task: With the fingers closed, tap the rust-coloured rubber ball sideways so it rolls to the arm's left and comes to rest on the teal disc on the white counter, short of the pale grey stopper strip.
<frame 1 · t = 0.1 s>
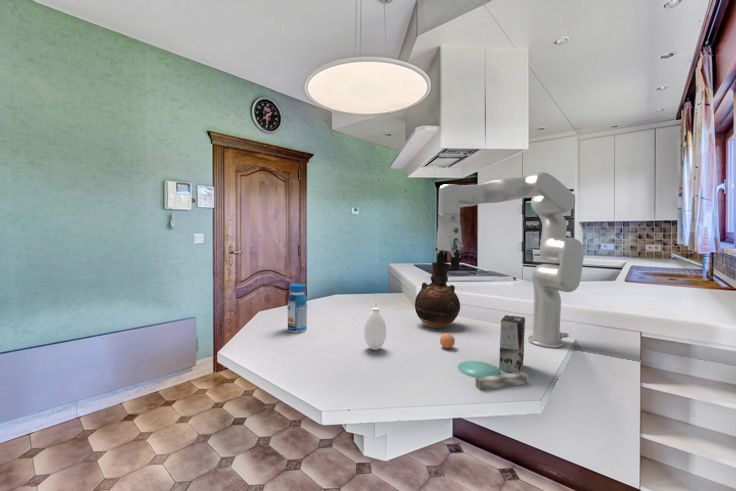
hand: (447, 267, 119), 31 cm above the counter, tool pointing down, fingers open, 9 cm apart
teal disc: (478, 369, 106), on the counter
stopper strip: (501, 384, 95), on the counter
ceramic vessel: (436, 326, 154), on the counter
ball: (447, 340, 125), on the counter
beverage bottle: (297, 330, 144), on the counter
sauce bottle: (374, 349, 122), on the counter
coffee box: (511, 367, 108), on the counter
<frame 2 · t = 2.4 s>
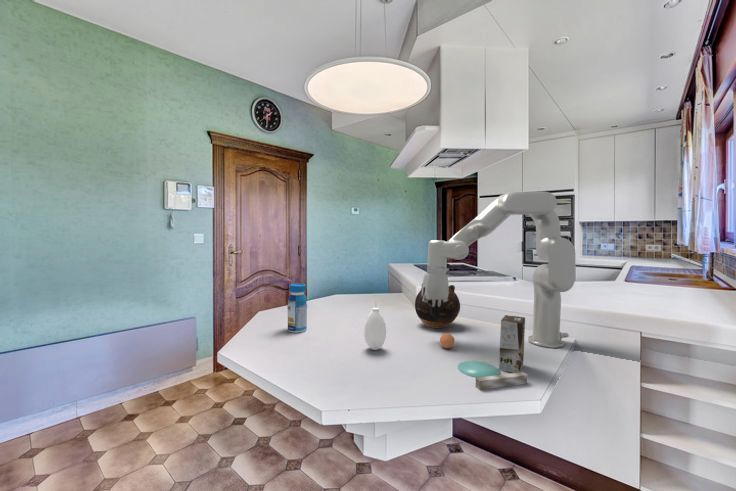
hand: (434, 315, 134), 10 cm above the counter, tool pointing down, fingers closed
nothing on the counter moved.
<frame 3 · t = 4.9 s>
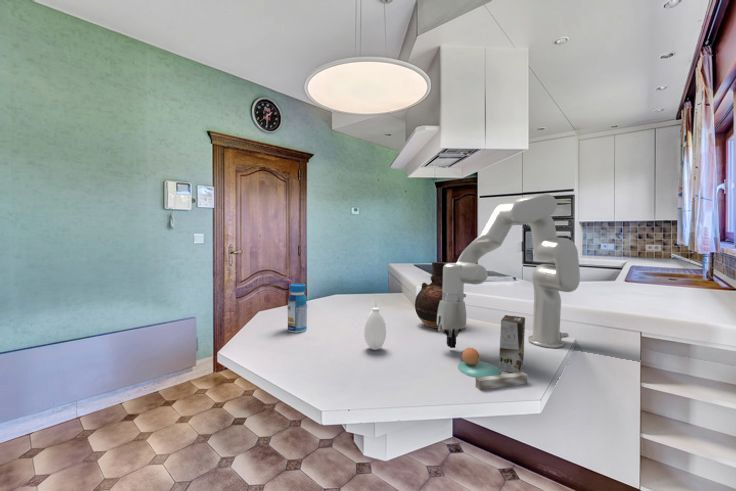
hand: (451, 346, 122), 2 cm above the counter, tool pointing down, fingers closed
ball: (470, 356, 109), on the counter
everything else where it was.
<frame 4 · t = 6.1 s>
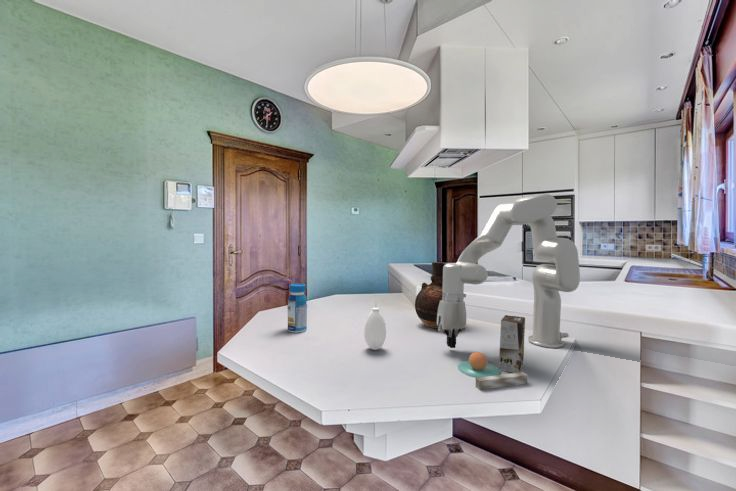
hand: (451, 346, 122), 2 cm above the counter, tool pointing down, fingers closed
ball: (477, 361, 106), on the counter
everything else where it was.
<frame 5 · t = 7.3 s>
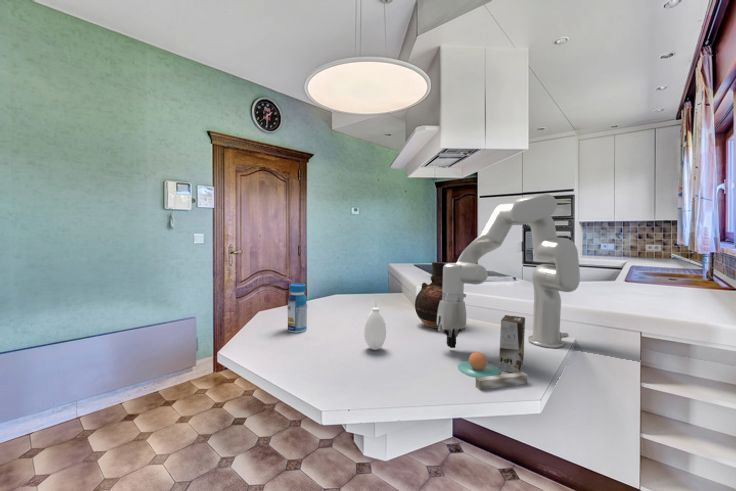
hand: (451, 346, 122), 2 cm above the counter, tool pointing down, fingers closed
nothing on the counter moved.
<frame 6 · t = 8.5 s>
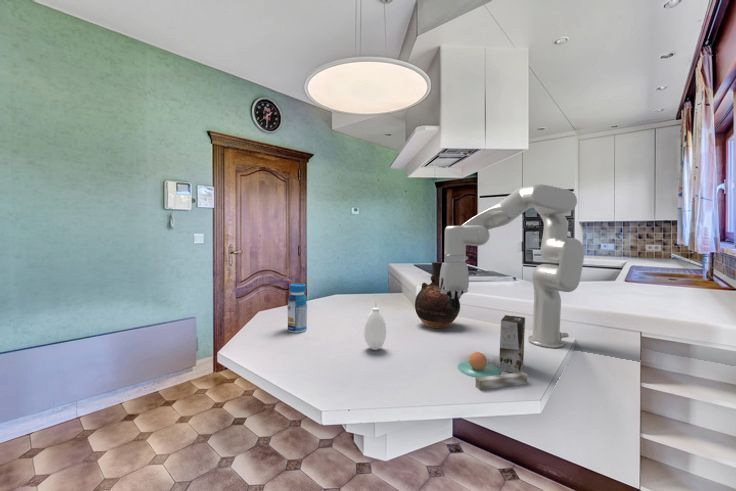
hand: (454, 308, 122), 15 cm above the counter, tool pointing down, fingers closed
nothing on the counter moved.
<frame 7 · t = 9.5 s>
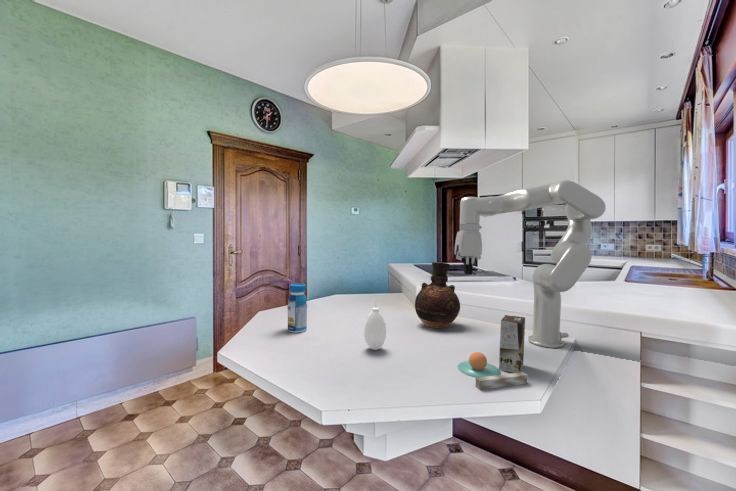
hand: (468, 274, 133), 27 cm above the counter, tool pointing down, fingers closed
nothing on the counter moved.
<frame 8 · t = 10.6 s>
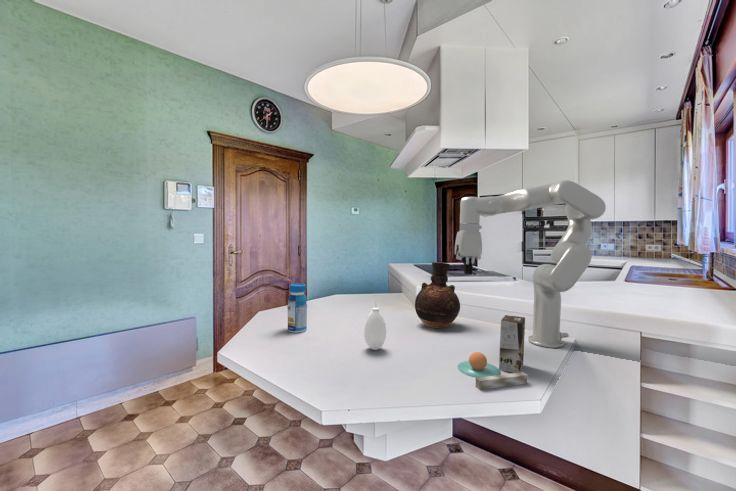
hand: (468, 273, 133), 27 cm above the counter, tool pointing down, fingers closed
nothing on the counter moved.
at the end: ball 0.4 cm from the teal disc (horizontally); ball at rest at the end (0.0 cm/s); ball moved 19.9 cm from its start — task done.
